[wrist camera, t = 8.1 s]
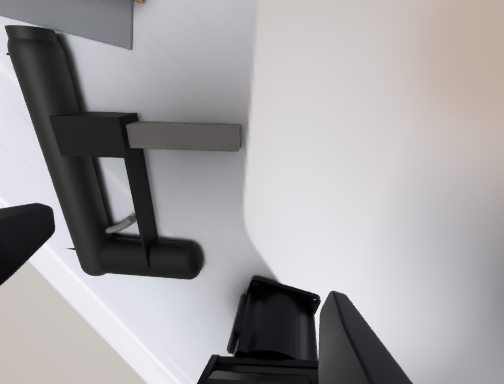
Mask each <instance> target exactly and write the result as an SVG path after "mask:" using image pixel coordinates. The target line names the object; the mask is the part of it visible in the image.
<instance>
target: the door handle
mask: <svg viewBox="0 0 504 384" xmlns="http://www.w3.org/2000/svg"><path fill="white" fill-rule="evenodd" d="M5 29H6V32H7V35H8V38H9V39H8V52H9V53H7V55H10V58H11V61H12V64H13V67H14V70H15V73H16V75H17V78H18V81H19V84H20V87H21V90H22V93H23V96H24V99H25V102H26V105H27V108H28V111H29V114H30V117H31V120H32V123H33V126H34V129H35V132H36V135H37V138H38V141H39V144H40V147H41V150H42V152H43V155H44V158H45V161H46V164H47V167H48V170H49V173H50V176H51V179H52V182H53V185H54V188H55V191H56V194H57V197H58V200H59V203H60V206H61V209H62V212H63V215H64V218H65V221H66V224H67V227H68V229H69V232H70V235H71V238H72V241H73V244H74V247H75V248H66V249H72V250H76V253H77V256H78V259H79V262H80V265H81V268H82V269H83V271H84V272H85V273H87V274H89V275H92V276H101V275H104V274H106V273H112V274H125V275H138V276H150V277H163V278H176V279H193V278H195V277H196V276H197V275H198V274H199V273H200V271H201V268H202V255H201V252H200V250H199V248H198V247H197V246H196V245H195V244H193V243H191V242H178V241H163V240H158V235H157V229H156V223H155V217H154V211H153V205H152V199H151V194H150V188H149V182H148V176H147V170H146V164H145V158H144V153H143V148H147V149H178V150H210V151H239V149H240V147H241V142H240V124H210V123H179V122H143V121H138V116H137V113H116V112H80V110H79V106H78V102H77V99H76V95H75V91H74V87H73V83H72V79H71V75H70V71H69V68H68V64H67V60H66V56H65V53H64V50H63V49H62V47H61V45H60V44H59V43H58V42H57V38H56V34H55V31H54V30H51V29H46V28H40V27H33V26H21V25H8V26H5ZM92 157H115V158H124V160H125V165H126V170H127V175H128V180H129V185H130V190H131V194H132V199H133V204H134V209H135V214H136V219H137V224H138V228H139V233H140V238H141V239H132V238H116V237H112V234H111V233H114V232H118V231H121V230H123V229H125V228H127V227H128V226H130V225H131V224H133V223H134V222H135V221H136V219H135V217H133V216H129V217H128V218H127V219H125V220H124V221H122V222H121V223H119V224H117V225H115V226H111V227H110V226H109V222H108V218H107V214H106V211H105V207H104V203H103V199H102V195H101V191H100V187H99V184H98V180H97V176H96V172H95V168H94V164H93V160H92Z"/></svg>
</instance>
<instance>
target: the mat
mask: <svg viewBox="0 0 504 384" xmlns="http://www.w3.org/2000/svg"><path fill="white" fill-rule="evenodd" d="M0 16H4V17H8V18H12V19H16V20H19V21H23V22H27V23H31V24H35V25H39V26H43V27H46V28H50V29H54V30H58V31H62V32H66V33H69V34H73V35H77V36H81V37H85V38H89V39H92V40H96V41H100V42H104V43H108V44H112V45H115V46H119V47H123V48H127V49H131V50H132V24H133V0H0Z"/></svg>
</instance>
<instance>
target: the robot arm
mask: <svg viewBox="0 0 504 384" xmlns="http://www.w3.org/2000/svg"><path fill="white" fill-rule="evenodd" d="M54 231H55V222H54V214H53V209H52V208H51V207H50V206H47V205H43V204H40V203H33V204H26V205H20V206H14V207H8V208H1V209H0V285H2V284H3V283H4V282H5V281H6V280H8V279H9V278H10V277H11V276H12V275H13V274H14V273H15V272H16V271H17V270H18V269H19V268H20V267H21V266H22V265H23V264H24V263H25V262H26V261H27V260H28V259H29V258H30V257H31V256H32V255H33V254H34V253H35V252H36V251H37V250H38V249H39V248H40V247H41V246H42V245H43V244H44V243H45V242H46V241H47V240H48V239H49V238H50V237H51V236H52V235H53V233H54ZM255 282H258V283H255ZM314 299H316V300H314ZM320 302H321V301H320V297H319V295H317V294H314V293H311V292H307V291H304V290H301V289H297V288H294V287H291V286H287V285H284V284H281V283H277V282H274V281H271V280H267V279H264V278H261V277H257V276H255V277H252V278H251V281H250V284H249V288H248V291H247V294H242V295H241V298H240V301H239V304H238V308H237V311H236V315H235V319H234V323H233V327H232V330H231V334H230V338H229V342H228V346H227V351H228V353H230V354H233V355H232V357H228V356H220V355H213V354H212V356H211V358H210V360H209V361H208V363H207V365H206V367H205V369H204V371H203V373H202V375H201V377H200V379H199V381H198V382H197V384H413V383H412V382H411V381H410V379H409V378H408V377H407V375H406V374H405V373H404V371H403V370H402V369H401V367H400V366H399V365H398V363H397V362H396V361H395V360H394V358H393V357H392V355H391V354H390V353H389V351H388V350H387V349H386V347H385V346H384V345H383V343H382V342H381V341H380V340H379V338H378V337H377V336H376V334H375V333H374V331H373V330H372V329H371V327H370V326H369V325H368V323H367V322H366V321H365V320H364V318H363V317H362V316H361V314H360V313H359V312H358V310H357V309H356V308H355V306H354V305H353V304H352V302H351V301H350V300H349V298H348V297H347V296H346V295H345V294H343V293H339V292H336V291H331V292H330V293H329V295H328V297H327V299H326V301H325V303H324V305H323V307H322V309H321V312H320V326H319V327H320V328H319V358H318V356H317V343H316V331H315V318H314V315H315V313H316V311H317V309H318V306H319V305H320Z"/></svg>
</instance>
